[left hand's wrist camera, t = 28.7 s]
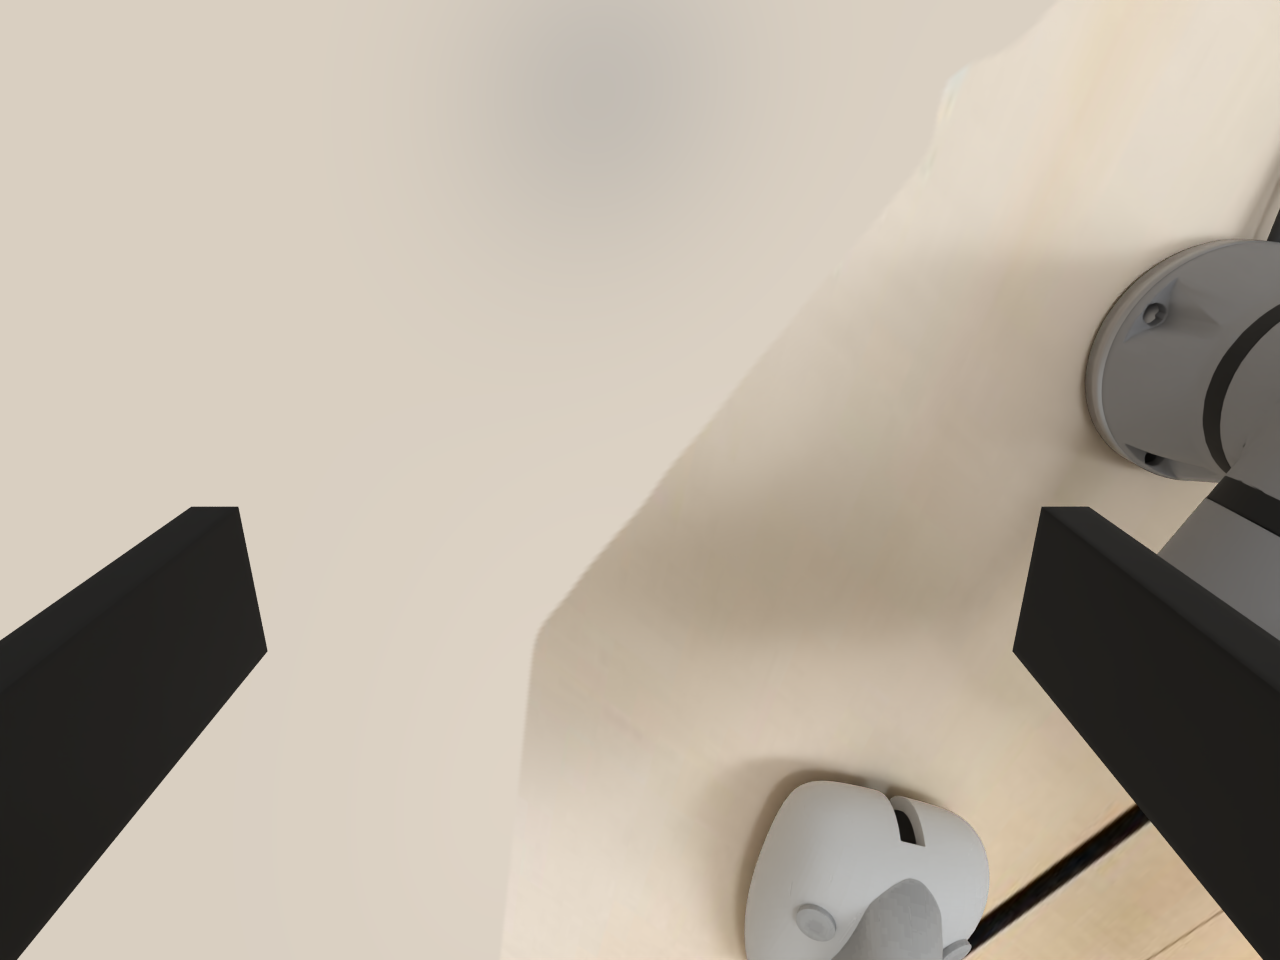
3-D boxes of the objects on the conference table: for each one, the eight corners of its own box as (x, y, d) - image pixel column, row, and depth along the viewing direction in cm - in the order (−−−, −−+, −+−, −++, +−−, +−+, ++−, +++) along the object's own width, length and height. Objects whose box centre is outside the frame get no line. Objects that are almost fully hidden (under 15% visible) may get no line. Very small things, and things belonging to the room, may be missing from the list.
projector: (653, 825, 63) (657, 1000, 50) (905, 707, 59) (986, 862, 45) (777, 984, 70) (810, 1177, 56) (1011, 888, 66) (1109, 1071, 52)
